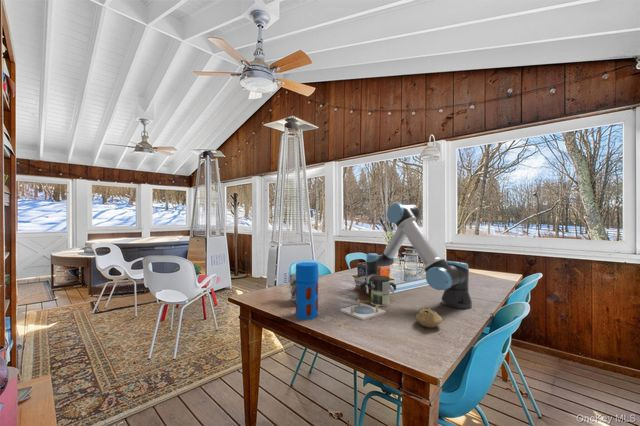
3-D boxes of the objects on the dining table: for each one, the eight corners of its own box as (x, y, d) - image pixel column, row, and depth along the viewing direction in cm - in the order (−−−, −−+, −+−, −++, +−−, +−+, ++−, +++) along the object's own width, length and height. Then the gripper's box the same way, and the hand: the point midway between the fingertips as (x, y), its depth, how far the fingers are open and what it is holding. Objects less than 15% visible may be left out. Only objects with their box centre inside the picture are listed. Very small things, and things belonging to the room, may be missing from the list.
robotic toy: (304, 296, 174) (304, 271, 174) (314, 305, 158) (314, 277, 158) (283, 298, 170) (283, 272, 170) (291, 307, 153) (291, 279, 153)
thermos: (321, 313, 144) (321, 263, 144) (312, 321, 135) (312, 266, 135) (302, 310, 149) (302, 261, 149) (291, 317, 139) (291, 265, 139)
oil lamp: (432, 318, 139) (432, 301, 139) (447, 331, 124) (447, 312, 124) (409, 318, 138) (409, 301, 138) (421, 331, 123) (421, 312, 123)
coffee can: (372, 306, 156) (372, 280, 156) (368, 300, 166) (369, 275, 166) (391, 306, 156) (392, 279, 156) (386, 300, 167) (387, 275, 166)
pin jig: (385, 312, 146) (385, 304, 146) (363, 320, 136) (363, 311, 136) (362, 304, 158) (362, 297, 158) (340, 311, 148) (340, 303, 148)
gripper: (395, 287, 180) (403, 297, 159) (354, 287, 181) (357, 297, 160) (395, 275, 180) (403, 284, 159) (354, 275, 181) (357, 283, 160)
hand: (380, 290), depth 159 cm, fingers open, 13 cm apart
